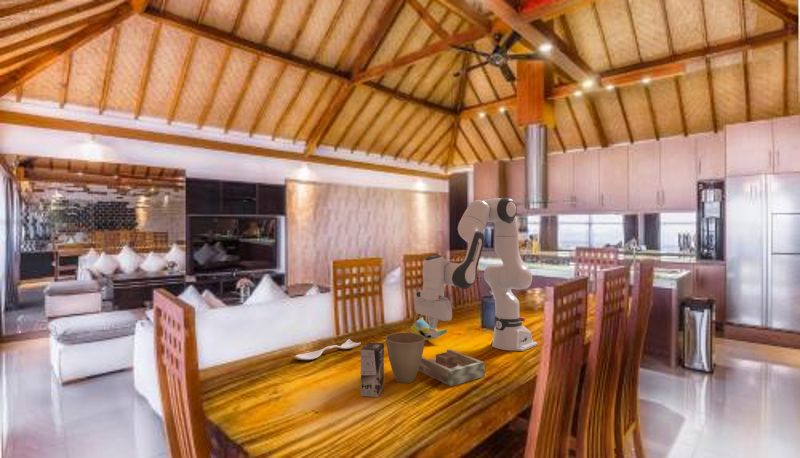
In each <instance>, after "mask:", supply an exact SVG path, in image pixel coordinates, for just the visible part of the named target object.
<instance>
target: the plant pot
mask: <svg viewBox="0 0 800 458" xmlns="http://www.w3.org/2000/svg"><path fill="white" fill-rule="evenodd" d="M385 342H386V349H387V350H386V351H387V357H388V361H389V363H390V368H391V371H392V374H393V376H394V379H395V381H396V382H397V383H401V384H409V383H413V382H414V381H415V380H416V378H417V375H418V372H419V371H418V369H419V366H420V363H421V359H422V357H423V353H424V348H425V342H426V340H425V337H424V336H423V335H420V334H416V333H409V332H395V333H394V332H393V333H391V334H387V335H386V336H385Z"/></svg>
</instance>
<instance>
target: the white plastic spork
mask: <svg viewBox="0 0 800 458" xmlns="http://www.w3.org/2000/svg"><path fill="white" fill-rule="evenodd" d="M360 345H361V341H359V342H354V341H352V340H351V338H349V339H347V340H346V341H344V343H342V344H341V345H336V344H335V345H329V346H327V345H326V347H324V348H321V349H319V350H318V349H317V350H314V351H309V352H303V353H300V354H296V355H295V359H297V360H302V361H311V360H312V361H313V360H315V359H317V358H319V357H321V355H322V354H323V352H325V351H327V350H331V349H334V348H336V349H337V348H338V349H341V350H348V349H352V348H355V347H357V346H360Z"/></svg>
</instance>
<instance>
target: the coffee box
mask: <svg viewBox="0 0 800 458" xmlns="http://www.w3.org/2000/svg"><path fill="white" fill-rule="evenodd" d="M384 389H385V343H383V342H367V343H365V345H364V346H363V347H361V349H360V396H361V397H371V398H378V397H379V396H380V395H381V394H382V392H383V390H384Z"/></svg>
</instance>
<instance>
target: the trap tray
mask: <svg viewBox="0 0 800 458" xmlns="http://www.w3.org/2000/svg"><path fill="white" fill-rule="evenodd" d="M446 352H448V353H451V354H453V355H456V356H457V366H455V367H451V368H447V367H445V366H443V365H440V364H438V363H436V357H434V358H431V359H429V358H426V357H424V356H422V359H421V363H420V366H419V369H418V372H420V373H422V374H424V375H426V376H429V377H430V378H433V379H435V380H437V381H438V382H441V383H442V384H445V385H447V386H450V387H454V386H457V385H461V384H464V383H467V382H470V381H474V380H477V379H481V378H485V376H486V375H485V373H486V372H485V368H486V367H485V364H486V363H485V362H484V361H482V360H479V359H477V358H474V357H471V356H469V355H467V354H463V353H460V352H458V351H455V350H452V349H451V348H450V349H446Z"/></svg>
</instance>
